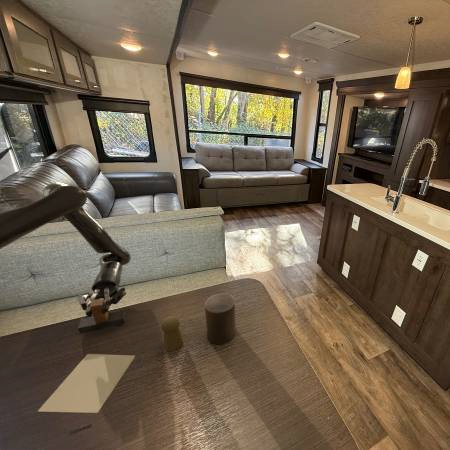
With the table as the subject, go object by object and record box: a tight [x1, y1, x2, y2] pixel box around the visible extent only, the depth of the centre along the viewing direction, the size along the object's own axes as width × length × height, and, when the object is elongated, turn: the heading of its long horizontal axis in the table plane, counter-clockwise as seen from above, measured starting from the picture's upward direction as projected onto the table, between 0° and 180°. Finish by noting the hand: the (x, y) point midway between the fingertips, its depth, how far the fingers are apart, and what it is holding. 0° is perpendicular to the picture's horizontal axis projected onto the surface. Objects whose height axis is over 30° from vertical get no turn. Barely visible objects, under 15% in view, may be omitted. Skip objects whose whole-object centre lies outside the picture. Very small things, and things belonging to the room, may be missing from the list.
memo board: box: [37, 353, 136, 414], centre depth 67 cm, size 14×16×1 cm
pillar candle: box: [204, 293, 237, 345], centre depth 84 cm, size 10×10×15 cm
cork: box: [160, 315, 185, 353], centre depth 78 cm, size 6×6×11 cm
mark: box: [68, 423, 93, 435], centre depth 57 cm, size 4×1×1 cm
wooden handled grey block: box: [77, 298, 127, 334], centre depth 81 cm, size 12×4×10 cm, turn 116°
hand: (96, 313), depth 78 cm, fingers closed on wooden handled grey block, 3 cm apart
